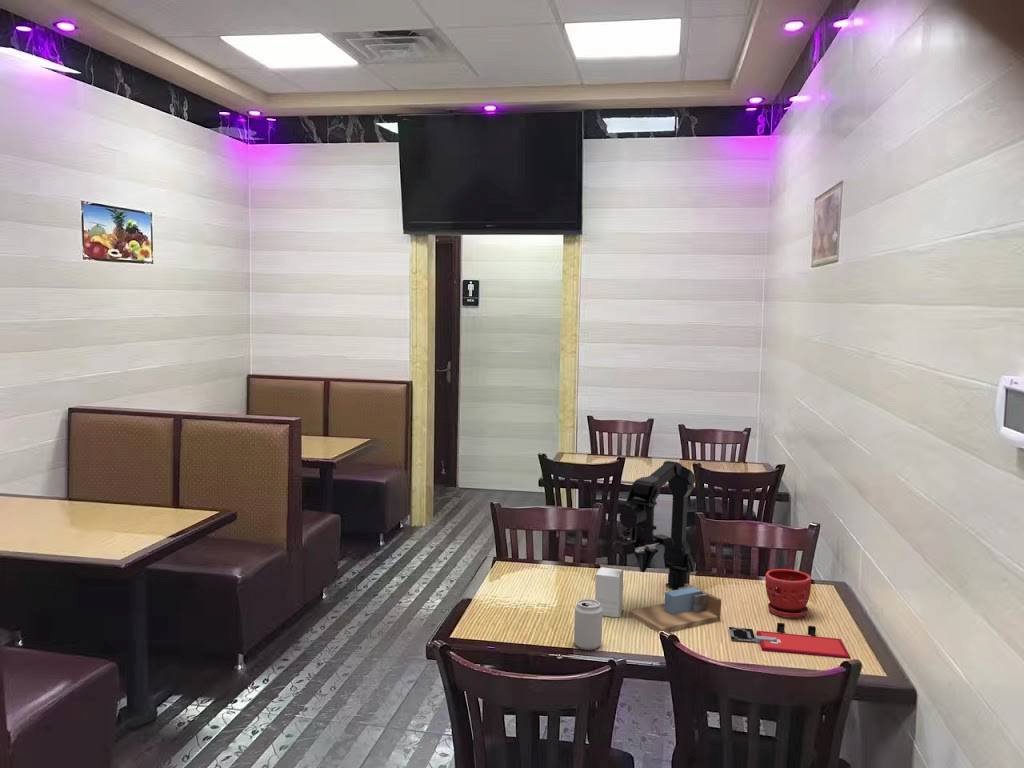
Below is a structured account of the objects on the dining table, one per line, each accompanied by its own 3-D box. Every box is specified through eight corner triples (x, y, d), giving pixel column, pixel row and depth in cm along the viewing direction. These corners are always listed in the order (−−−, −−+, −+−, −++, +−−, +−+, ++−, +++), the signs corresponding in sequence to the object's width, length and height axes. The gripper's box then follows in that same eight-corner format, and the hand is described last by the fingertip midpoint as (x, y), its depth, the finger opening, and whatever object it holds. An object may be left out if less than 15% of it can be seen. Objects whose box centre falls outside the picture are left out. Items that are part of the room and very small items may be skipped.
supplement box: (623, 609, 237) (624, 569, 236) (618, 618, 230) (619, 576, 229) (599, 606, 239) (600, 566, 238) (594, 614, 233) (595, 573, 231)
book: (692, 604, 238) (693, 586, 238) (701, 608, 235) (702, 590, 234) (664, 610, 233) (664, 592, 233) (672, 614, 230) (673, 596, 229)
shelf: (686, 603, 243) (687, 583, 242) (720, 620, 229) (721, 599, 229) (629, 615, 232) (630, 594, 232) (661, 634, 219) (662, 611, 219)
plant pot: (810, 609, 240) (812, 571, 239) (807, 624, 228) (809, 584, 227) (766, 601, 245) (768, 564, 244) (761, 616, 234) (763, 577, 233)
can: (571, 639, 214) (572, 597, 213) (598, 639, 215) (599, 597, 214) (576, 651, 207) (577, 607, 206) (604, 650, 208) (605, 607, 206)
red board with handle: (727, 627, 225) (732, 649, 210) (728, 617, 225) (733, 639, 210) (837, 638, 220) (850, 661, 205) (837, 628, 219) (850, 651, 205)
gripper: (652, 512, 246) (650, 560, 247) (603, 518, 237) (602, 568, 238) (675, 520, 236) (673, 570, 237) (625, 527, 227) (623, 579, 229)
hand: (642, 571), depth 236 cm, fingers closed
